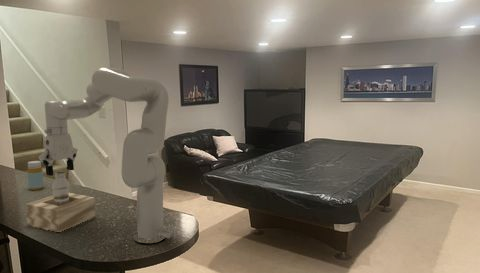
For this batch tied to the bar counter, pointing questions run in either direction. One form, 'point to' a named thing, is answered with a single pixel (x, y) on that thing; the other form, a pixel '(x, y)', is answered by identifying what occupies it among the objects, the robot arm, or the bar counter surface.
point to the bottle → (35, 175)
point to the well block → (60, 212)
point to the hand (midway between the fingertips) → (60, 172)
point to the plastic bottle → (60, 189)
